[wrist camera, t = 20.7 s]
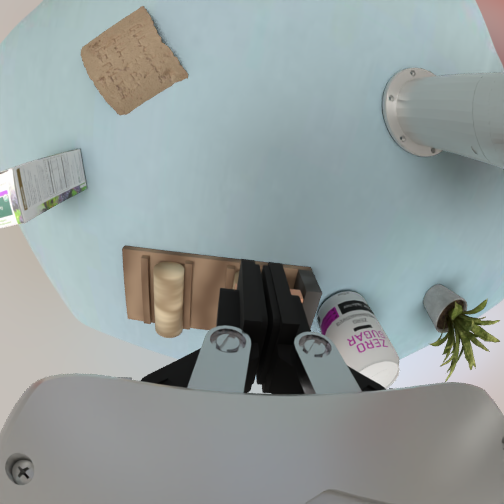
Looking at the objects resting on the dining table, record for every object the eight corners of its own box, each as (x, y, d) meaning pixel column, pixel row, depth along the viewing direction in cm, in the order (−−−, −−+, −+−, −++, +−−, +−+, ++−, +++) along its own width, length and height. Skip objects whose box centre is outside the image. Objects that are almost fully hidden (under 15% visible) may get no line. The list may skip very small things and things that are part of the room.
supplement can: (329, 337, 47) (355, 408, 33) (307, 307, 44) (332, 382, 30) (371, 313, 45) (409, 378, 31) (353, 279, 42) (395, 346, 28)
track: (310, 267, 41) (322, 292, 35) (291, 332, 46) (298, 361, 40) (124, 245, 38) (107, 267, 32) (129, 314, 43) (117, 341, 37)
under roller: (182, 261, 39) (186, 276, 35) (180, 319, 43) (184, 336, 39) (152, 261, 37) (154, 277, 34) (154, 320, 41) (156, 338, 38)
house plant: (383, 300, 44) (430, 370, 29) (442, 243, 40) (506, 296, 25) (415, 337, 49) (454, 397, 34) (466, 289, 45) (514, 340, 30)
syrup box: (56, 195, 34) (-8, 234, 21) (49, 155, 31) (-21, 180, 18) (88, 188, 34) (24, 227, 21) (81, 146, 31) (11, 166, 18)
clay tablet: (193, 79, 30) (189, 76, 27) (125, 125, 32) (117, 126, 29) (141, 1, 24) (135, -6, 22) (79, 47, 26) (70, 44, 23)
